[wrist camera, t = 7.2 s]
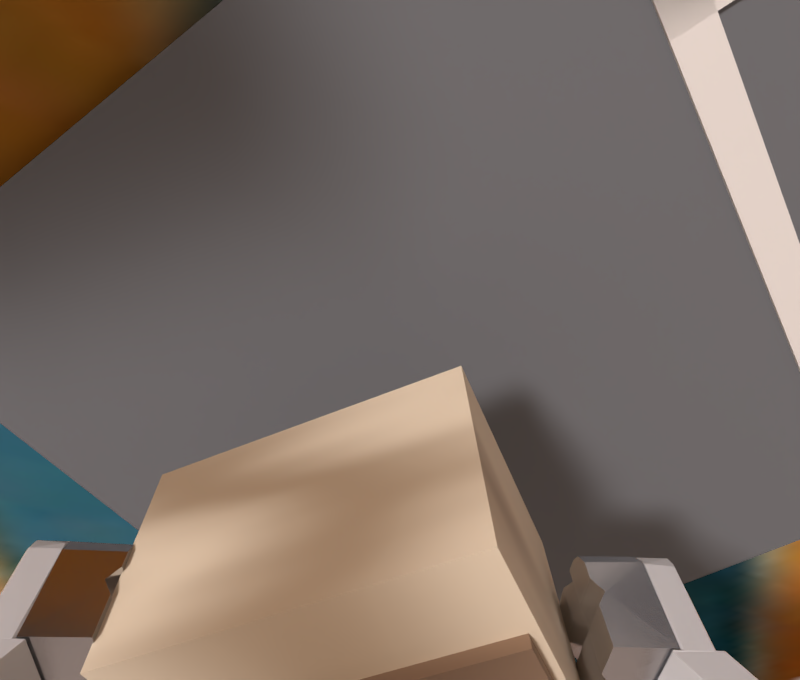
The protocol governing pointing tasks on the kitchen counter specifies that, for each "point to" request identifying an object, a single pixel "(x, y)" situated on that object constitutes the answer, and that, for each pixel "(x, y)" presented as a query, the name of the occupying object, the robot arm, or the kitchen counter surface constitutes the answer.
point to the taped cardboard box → (342, 557)
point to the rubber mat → (436, 255)
